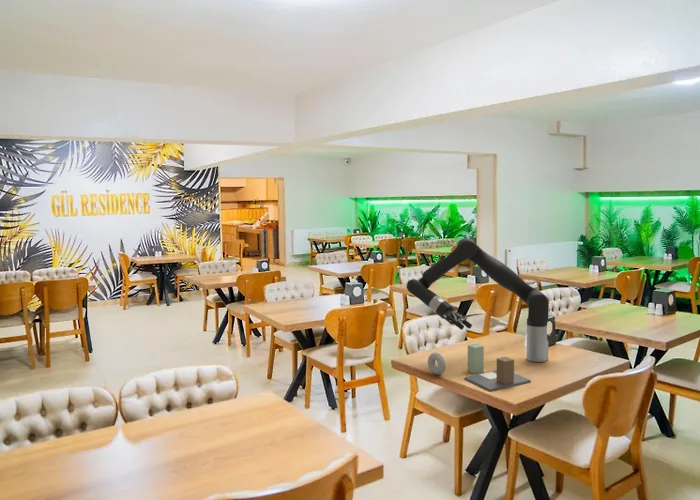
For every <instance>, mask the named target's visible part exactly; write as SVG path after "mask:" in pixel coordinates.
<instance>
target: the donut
mask: <svg viewBox="0 0 700 500" xmlns="http://www.w3.org/2000/svg"><path fill="white" fill-rule="evenodd" d="M436 362H437V365H436ZM427 366H428V369H429V370H430V372H431V373H432V374H433V375H435V374H436V375H437V376H440V375H443V373H444V372H445V370H446V360H445V359H444V357H443V355H441V353H439V352H432V353H431V354H430V355H429V356H428V359H427Z"/></svg>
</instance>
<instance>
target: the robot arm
mask: <svg viewBox="0 0 700 500" xmlns="http://www.w3.org/2000/svg"><path fill="white" fill-rule="evenodd" d="M466 260H469V261H471V262H473V263H474V264H475V265H477V266H478V267H479V268H480V269H481V270H482V271H483V272H484V273H485V274H486V275H487V277H489V278H490V279H492V280H493V281H494V282H496V283H497V284H498V285H499V286H501V287H502V288H504V289H506V290H508V291H509V292H511V293H513V294H514V295H516V296H517V297H518V298H519V299H520V300H522V301H523V302H524V303H525V304H526V305H527V307H528V309H527V310H528V313H527V319H526V360H527V361H529V362H533V363H544V362H547V360H549V339H548V321H549V310H550V303H549V302H550V301H549V299H548V297H547V295H545V294H544V293H543V292H541V291H539V290H537V288H534V287H533V286H531V285H529V284H528V283H526V282H525V280H523V279H522V278H521V277H520V276H519V275H518V274H517V273H516V272H515V271H513V270H512V268H510V267H509V266H507V265H506V264H504V263H503V262H501V261H500V260H498V259H497V258H495V257H493V256H492V255H490V254H488V253H487V252H486V251H484V250H483V249H482V247H480V246H479V245H478V244H477V243H476V242H475V241H474V240H473V239H472V238H468V237H464V238H461V239H459V240H458V242H457V244H456V247H455V248H454V249H453V251H452V252H450V253H449V254H448V255H446V256H445V257H444V258H442V259H441V260H439V261H437V262H435V263H434V264H433V265H431V266H430V267H428V268H427V269H426V270H425V271H424V272H422V274H421V277H420V278H419V279H415V278H413V279H412V278H411V279H409V280H408V281H407V282H406V290H407V291H408V292H409V293H410V294H412V296H414V297H416V298H417V299H418V300H420V301H421V302H422V304H424V305H425V306H427V307H428V308H429V309H430V310H431V311H433V312H434V313H435V314H436V315H438V316H439V317H440V318H441V319H443V320H445V321H446V322H448V323H449V324H450V325H453V326H456V327H457V328H458V329H460V331H461V330H464V328H465V327H466V328H467V329H469V330H470V329H471V328H472V326H473V324H471V322H469V321H468V320H467V319H468V318H467V317H465V316H464V315H463V314H461V313H460V312H459V311H454V310H453V309H454V307H453V305H452V304H450V303H449V302H448V301H446V300H445V299H444V298H443V297H440V296H439V295H438V294H436V293H435V292H434V291H433V290H430V289H429V288H430V287H431V286H432V285H433V284H434V283H436V282H437V281H438V280H440V278H441V277H443V276H445V275H446V274H447V273H448V272H449V271H451V270H452V269H453V268H454V267H456V266H458V265H460V264H461V263H464V261H466Z"/></svg>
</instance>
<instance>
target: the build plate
mask: <svg viewBox="0 0 700 500" xmlns="http://www.w3.org/2000/svg"><path fill="white" fill-rule="evenodd" d="M463 378H464V379H463V380H465V381H468V382H470V383H472V384H474V385H476V386H477V387H480V388H482V389H484V390H486V391H488V392H494V391H499V390H503V389H508V388H511V387H517V386H521V385H525V384H530V383H531V382H532V381H531V379H530V378H527V377H524V376H521V375H519V374H517V373H515V360H514V358H510V357H508V356H502V357H498V358H496V370H490V371H486V372H481V373H476V374H472V375H468V376H463Z"/></svg>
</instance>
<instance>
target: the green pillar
mask: <svg viewBox="0 0 700 500" xmlns="http://www.w3.org/2000/svg"><path fill="white" fill-rule="evenodd" d="M484 349H485V347H484V345H481V344H480V343H472V344H467V371H468V372H470V373H472V374H473V375H476V374H481V373H485V371H484V369H485V368H484V367H485V366H484V364H485V363H484V360H485V359H484V357H485V356H484V354H485V353H484Z"/></svg>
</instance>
